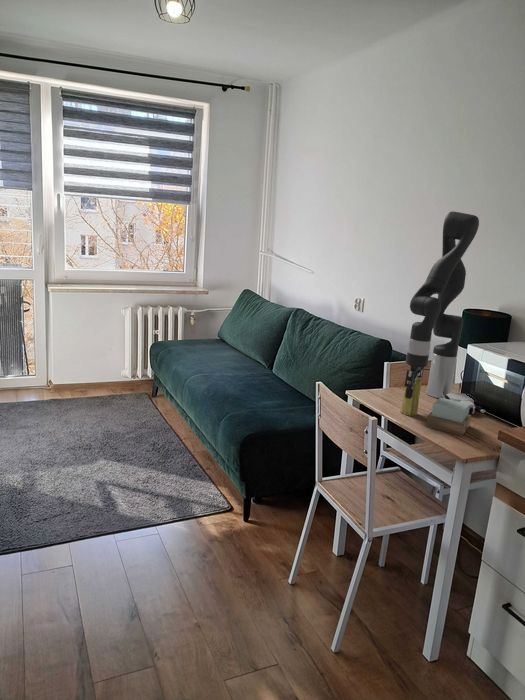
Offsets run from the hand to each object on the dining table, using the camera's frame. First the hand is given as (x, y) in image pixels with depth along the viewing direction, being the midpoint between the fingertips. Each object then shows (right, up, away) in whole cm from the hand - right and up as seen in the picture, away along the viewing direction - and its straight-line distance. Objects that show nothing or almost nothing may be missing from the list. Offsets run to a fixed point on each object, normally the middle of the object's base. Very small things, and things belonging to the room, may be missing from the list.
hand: (411, 395), depth 200 cm
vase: (-1, -7, +1) cm, 7 cm away
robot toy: (+22, -6, +11) cm, 26 cm away
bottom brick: (+10, -10, -9) cm, 17 cm away
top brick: (+10, -6, -10) cm, 16 cm away
